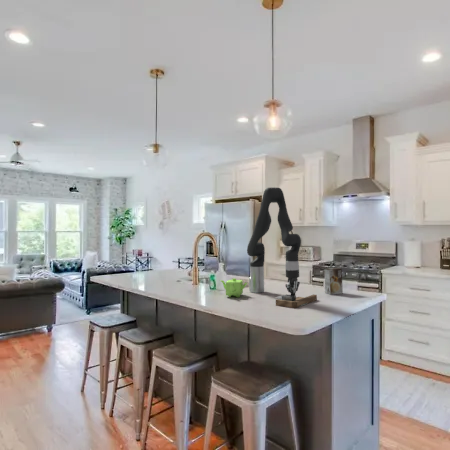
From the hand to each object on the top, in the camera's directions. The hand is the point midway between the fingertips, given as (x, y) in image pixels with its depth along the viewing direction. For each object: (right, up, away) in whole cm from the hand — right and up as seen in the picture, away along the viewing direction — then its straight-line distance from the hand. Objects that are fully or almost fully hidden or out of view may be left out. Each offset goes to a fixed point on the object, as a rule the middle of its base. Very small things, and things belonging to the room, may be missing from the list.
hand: (293, 299), depth 193 cm
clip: (-3, -1, -4) cm, 5 cm away
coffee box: (+31, -2, +25) cm, 40 cm away
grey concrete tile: (-2, -2, +13) cm, 14 cm away
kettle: (-33, -3, +23) cm, 40 cm away
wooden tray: (+2, -2, 0) cm, 3 cm away
